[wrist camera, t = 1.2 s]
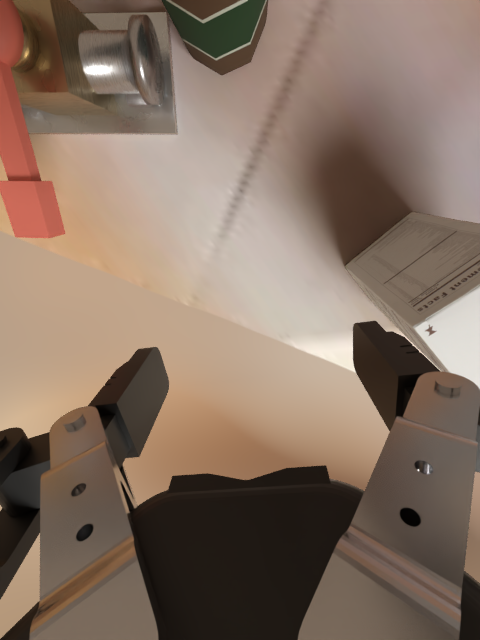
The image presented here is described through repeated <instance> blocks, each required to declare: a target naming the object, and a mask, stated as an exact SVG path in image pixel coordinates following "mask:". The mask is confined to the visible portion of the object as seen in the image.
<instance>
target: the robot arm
mask: <svg viewBox="0 0 480 640" xmlns="http://www.w3.org/2000/svg"><path fill="white" fill-rule="evenodd" d="M353 362H354V367H355V370H356V373H357V375H358V377H359V378H360V380H361V382H362V384H363V385H364V387H365V389H366V391H367V392H368V394H369V396H370V398H371V399H372V401H373V403H374V405H375V406H376V408H377V410H378V412H379V413H380V415H381V417H382V418H383V420H384V422H385V424H386V426H387V427H388V429H389V431H390V433H389V435H388V438H387V440H386V442H385V445H384V447H383V450H382V452H381V454H380V457H379V459H378V461H377V463H376V466H375V468H374V470H373V473H372V475H371V478H370V480H369V482H368V485H367V487H366V489H365V491H363V490H361V489H359V488H357V487H355V486H352V485H350V484H347V483H344V482H341V481H337V480H333V479H329V475H328V471H327V468H326V466H311V467H297V468H286V469H282V470H279V471H276V472H273V473H270V474H267V475H263V476H261V477H257V478H254V479H251V480H240V479H235V478H229V477H224V476H219V475H213V474H196V475H181V476H172V480H171V483H170V486H169V490H167V491H164V492H162V493H159V494H157V495H155V496H153V497H151V498H150V499H148V500H146V501H145V502H143V503H142V504H140V505H139V506H138V505H137V503H136V500H135V497H134V494H133V491H132V488H131V486H130V483H129V480H128V477H127V474H126V471H125V469H124V467H123V462H124V460H125V458H132V457H139V456H140V454H141V452H142V450H143V447H144V444H145V443H146V440H147V438H148V436H149V434H150V431H151V429H152V427H153V425H154V422H155V420H156V418H157V416H158V413H159V411H160V409H161V406H162V404H163V402H164V400H165V398H166V395H167V393H168V389H169V380H168V376H167V373H166V370H165V367H164V364H163V360H162V357H161V354H160V351H159V350H158V348H157V347H152V348H144V349H138V350H137V351H136V352H135V354H134V355H133V356H132V358H131V359H130V360H129V361H128V362H126V363H125V364H123V365H122V366H121V367H119V368H118V369H117V370H116V371H115V372H114V374H113V375H112V376H111V378H110V379H109V380H108V381H107V382H106V384H105V386H103V387H102V389H101V390H100V391H99V392H98V394H97V395H96V396H95V398H94V399H93V400H92V401H91V403H90V404H89V405H88V406H86V407H81V408H78V409H75V410H73V411H70V412H68V413H67V414H65V415H63V416H62V417H61V418H59V419H58V420H57V421H56V422H55V423H54V424H53V425H52V427H51V429H50V432H49V433H45V434H42V435H39V436H35V437H32V438H29V439H28V438H27V436H26V434H25V433H24V431H23V430H22V429H21V428H9V429H6V430H4V431H0V505H1V506H2V510H1V511H0V599H1V597H2V596H3V594H4V592H5V591H6V589H7V587H8V586H9V584H10V582H11V580H12V579H13V577H14V575H15V574H16V572H17V570H18V568H19V567H20V565H21V564H22V562H23V560H24V558H25V557H26V555H27V553H28V552H29V550H30V548H31V547H32V545H33V543H34V541H35V540H36V538H37V536H38V535H39V533H40V601H39V602H38V603H37V604H36V605H35V606H34V607H33V608H32V609H31V610H30V611H29V612H28V613H27V614H26V615H25V616H23V617H22V619H20V620H19V621H18V622H17V623H16V624H15V626H13V627H12V628H11V629H10V630H9V631H8V632H7V633H6V634H5V635H4V636H3V637H2V638H1V639H0V640H480V583H479V582H477V581H476V580H475V579H474V578H472V577H471V576H470V575H469V574H468V573H466V572H465V571H464V565H465V556H466V547H467V538H468V529H469V519H470V511H471V501H472V492H473V483H474V474H475V472H480V389H479V387H478V386H477V385H476V384H475V383H473V382H472V381H471V380H469V379H467V378H465V377H463V376H460V375H457V374H453V373H448V372H441V371H440V370H439V369H437V368H436V367H435V366H434V365H433V364H432V363H431V362H430V361H429V360H428V359H427V358H426V357H425V356H424V355H423V354H422V353H419V351H418V350H417V349H416V348H415V347H414V346H412V344H411V343H410V342H409V341H408V340H407V339H406V338H405V337H403V336H401V335H399V334H396V333H394V332H386V331H385V330H384V329H383V328H382V327H381V326H380V325H379V324H378V323H377V322H376V321H370V322H361V323H355V324H354V326H353Z"/></svg>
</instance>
